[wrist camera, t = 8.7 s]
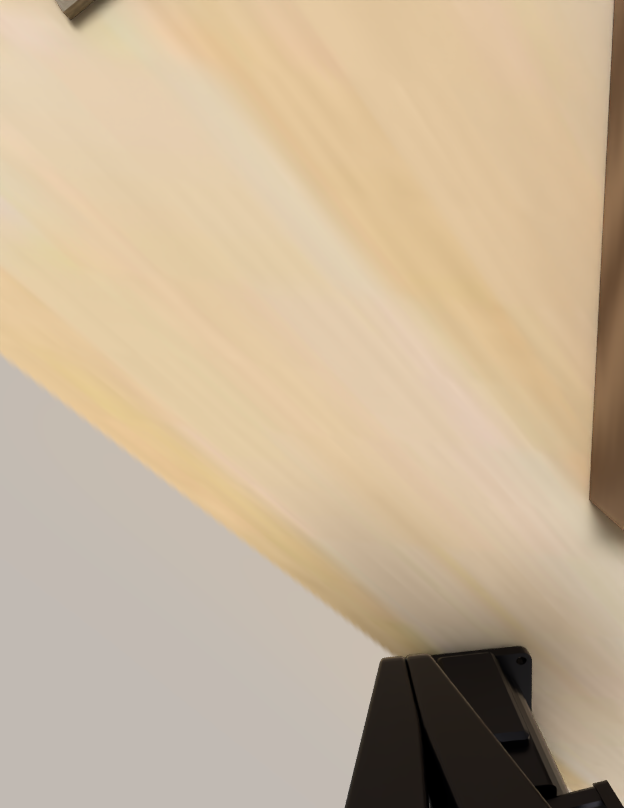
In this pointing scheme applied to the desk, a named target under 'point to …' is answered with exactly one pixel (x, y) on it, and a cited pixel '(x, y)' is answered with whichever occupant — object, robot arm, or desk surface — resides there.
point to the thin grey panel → (73, 6)
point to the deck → (611, 308)
